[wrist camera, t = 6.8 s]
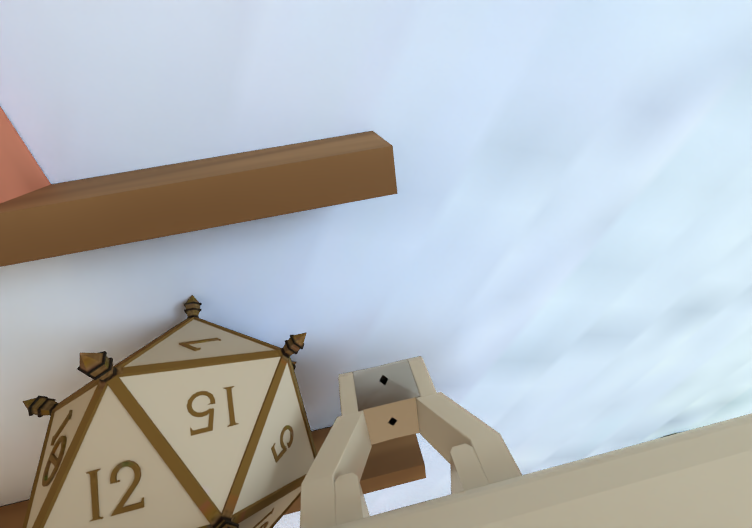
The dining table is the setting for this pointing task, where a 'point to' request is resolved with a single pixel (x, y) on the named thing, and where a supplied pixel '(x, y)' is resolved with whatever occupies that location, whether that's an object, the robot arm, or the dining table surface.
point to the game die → (176, 436)
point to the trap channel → (195, 224)
